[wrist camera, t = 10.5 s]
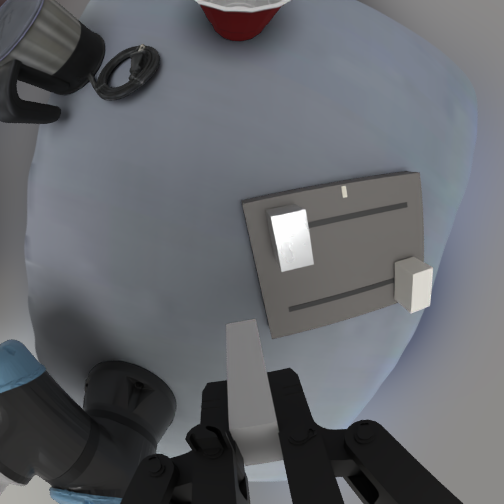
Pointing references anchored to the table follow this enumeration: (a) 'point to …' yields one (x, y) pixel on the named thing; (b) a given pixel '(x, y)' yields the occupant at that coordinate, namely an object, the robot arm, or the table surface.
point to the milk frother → (57, 59)
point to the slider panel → (339, 249)
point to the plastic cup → (240, 16)
